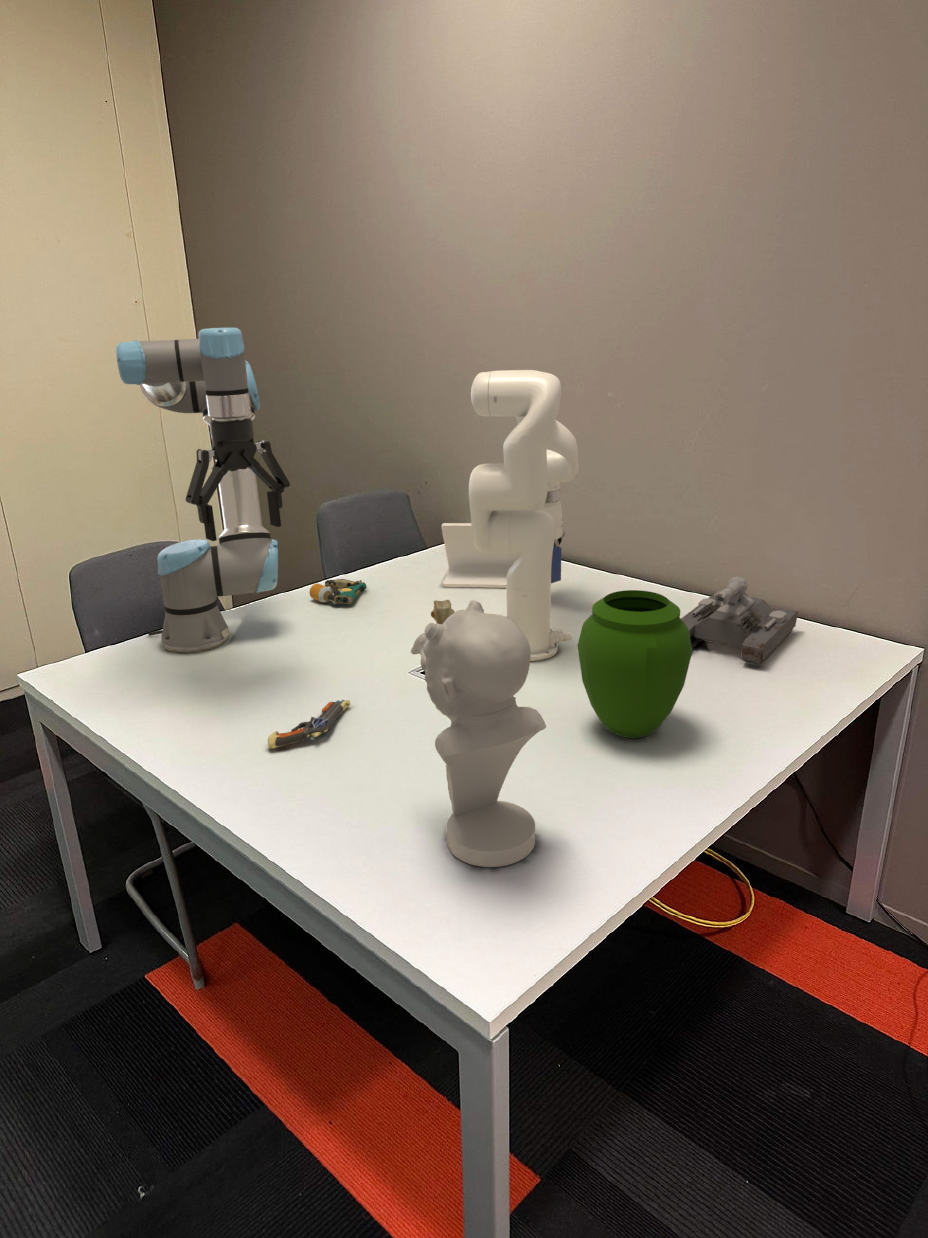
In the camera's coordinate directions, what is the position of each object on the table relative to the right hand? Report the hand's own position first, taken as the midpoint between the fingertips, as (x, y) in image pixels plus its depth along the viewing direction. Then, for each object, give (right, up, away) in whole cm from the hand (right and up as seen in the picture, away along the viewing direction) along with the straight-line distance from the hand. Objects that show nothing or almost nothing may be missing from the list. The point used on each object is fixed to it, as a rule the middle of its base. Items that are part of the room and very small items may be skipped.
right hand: (543, 566), depth 215 cm
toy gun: (-48, -33, -58) cm, 83 cm away
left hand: (-62, +3, -54) cm, 82 cm away
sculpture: (-24, -24, -36) cm, 49 cm away
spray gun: (-53, -7, +11) cm, 54 cm away
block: (0, -3, +1) cm, 3 cm away
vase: (+10, -33, -62) cm, 71 cm away
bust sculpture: (-19, -45, -90) cm, 102 cm away
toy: (+40, -18, -25) cm, 51 cm away
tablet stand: (-12, -2, +23) cm, 26 cm away
